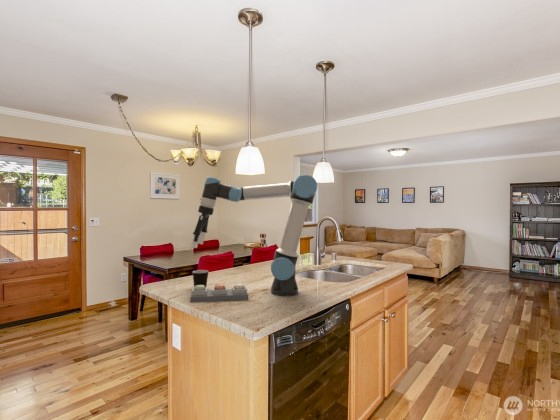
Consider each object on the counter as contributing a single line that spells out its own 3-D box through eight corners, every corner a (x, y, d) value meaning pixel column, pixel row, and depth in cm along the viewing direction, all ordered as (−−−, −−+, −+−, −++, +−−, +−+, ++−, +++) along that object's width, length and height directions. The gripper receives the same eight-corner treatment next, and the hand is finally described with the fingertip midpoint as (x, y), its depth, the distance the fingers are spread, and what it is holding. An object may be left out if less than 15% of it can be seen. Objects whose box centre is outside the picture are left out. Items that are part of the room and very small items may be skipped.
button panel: (245, 293, 168) (245, 284, 168) (248, 299, 156) (248, 290, 156) (191, 295, 162) (192, 286, 162) (190, 302, 150) (190, 292, 150)
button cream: (243, 287, 164) (243, 283, 164) (244, 289, 160) (244, 285, 160) (234, 287, 163) (234, 283, 163) (235, 290, 158) (235, 286, 158)
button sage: (204, 288, 160) (204, 284, 160) (204, 291, 155) (204, 287, 155) (195, 289, 159) (195, 285, 159) (194, 291, 154) (194, 287, 154)
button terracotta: (224, 288, 162) (224, 284, 162) (224, 290, 157) (224, 286, 157) (214, 288, 161) (215, 284, 161) (215, 291, 156) (215, 286, 156)
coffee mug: (203, 291, 169) (204, 273, 169) (189, 290, 171) (189, 272, 171) (212, 286, 180) (213, 269, 180) (199, 285, 182) (199, 268, 182)
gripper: (204, 204, 174) (195, 240, 175) (194, 204, 149) (183, 247, 150) (217, 207, 175) (208, 243, 175) (209, 208, 150) (198, 251, 150)
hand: (197, 245), depth 163 cm, fingers open, 13 cm apart
